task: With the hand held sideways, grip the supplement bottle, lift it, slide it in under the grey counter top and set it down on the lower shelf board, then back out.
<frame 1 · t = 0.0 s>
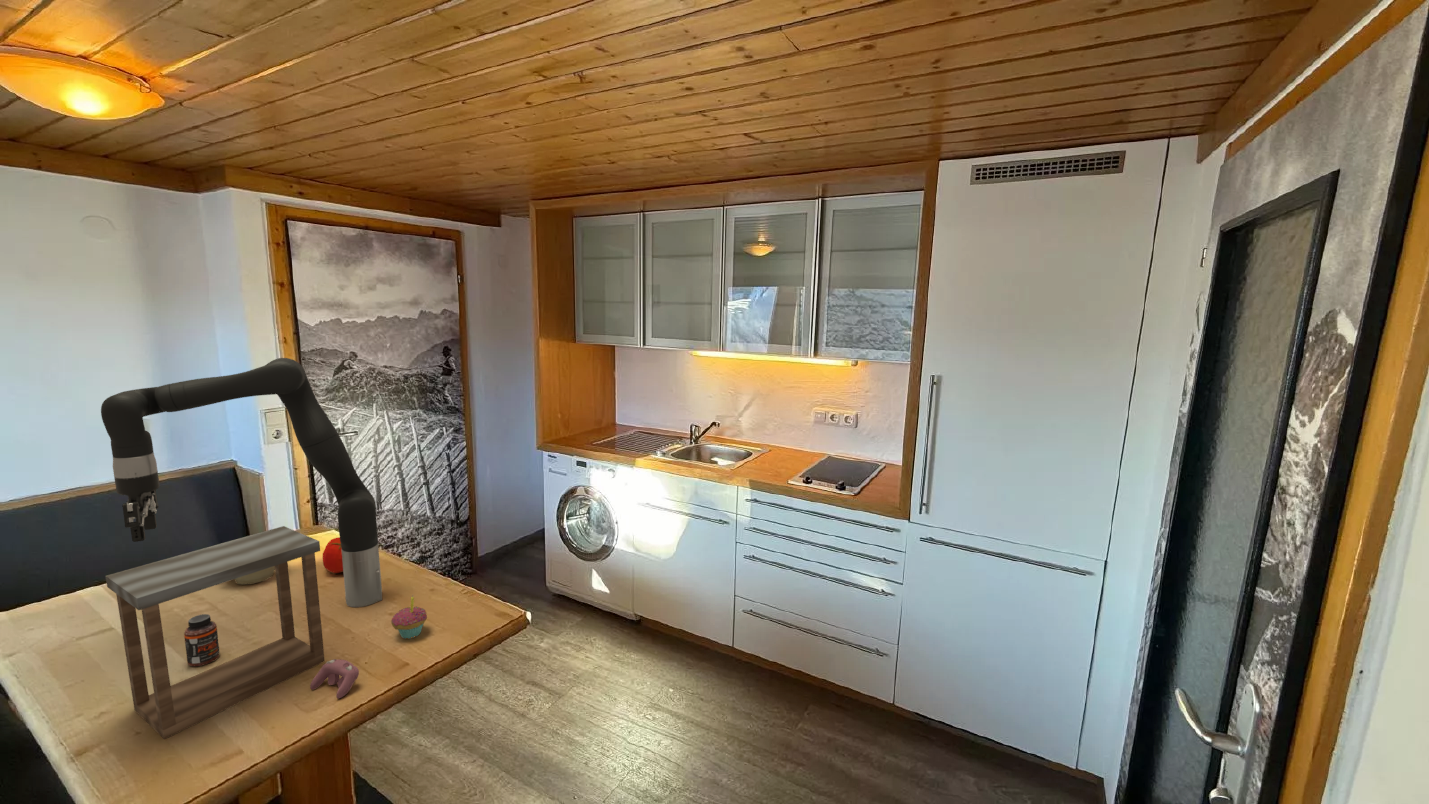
hand: (145, 534, 141), 29 cm above the table, tool pointing down, fingers open, 8 cm apart
video game controller: (336, 688, 131), on the table
planter bowl: (255, 578, 180), on the table
under-counter shelf: (236, 684, 131), on the table
supplement bottle: (204, 661, 139), on the table
tomato: (347, 569, 188), on the table
cupcake: (410, 634, 153), on the table
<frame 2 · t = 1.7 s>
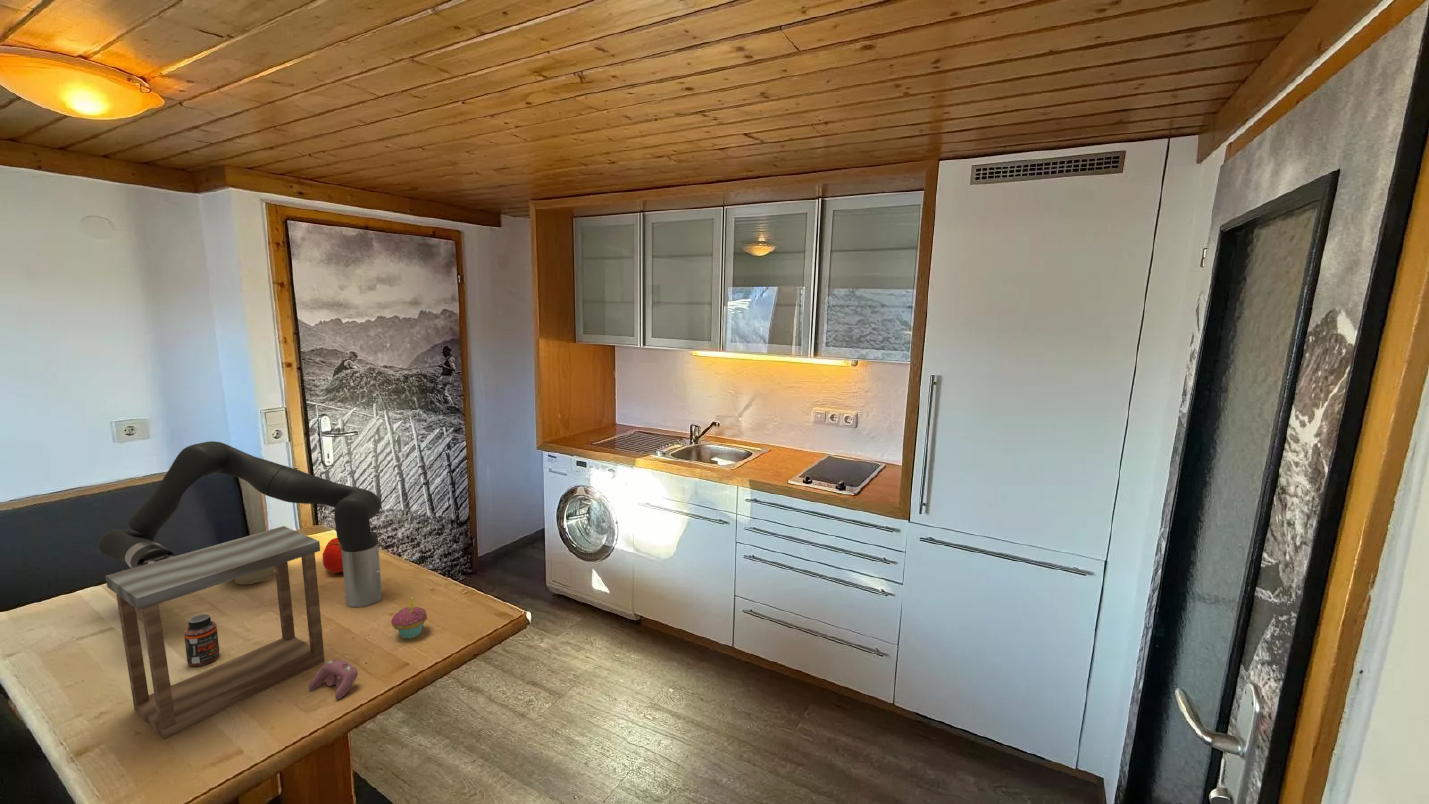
hand: (175, 574, 141), 20 cm above the table, tool horizontal, fingers open, 8 cm apart
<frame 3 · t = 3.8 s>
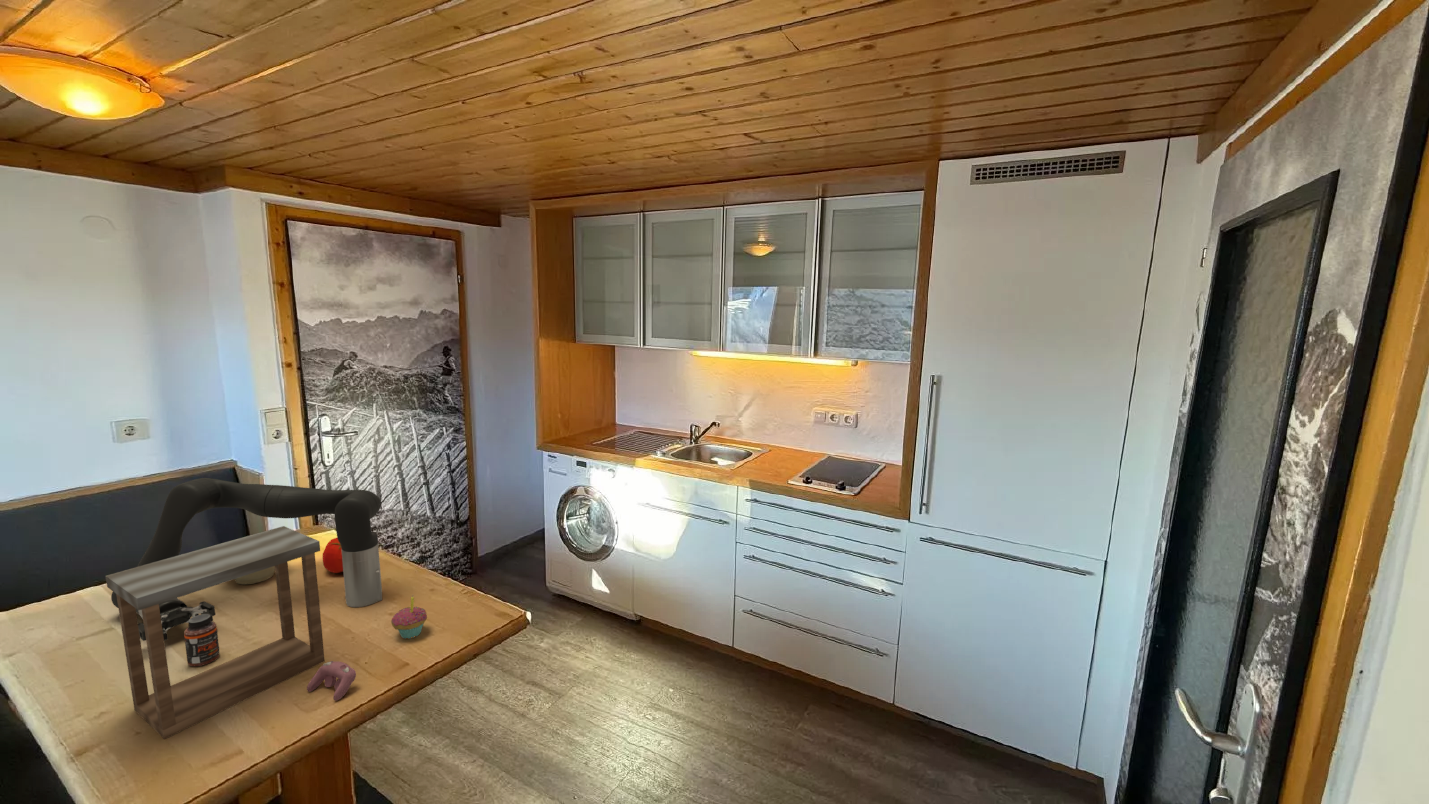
hand: (188, 628, 142), 6 cm above the table, tool horizontal, fingers open, 8 cm apart
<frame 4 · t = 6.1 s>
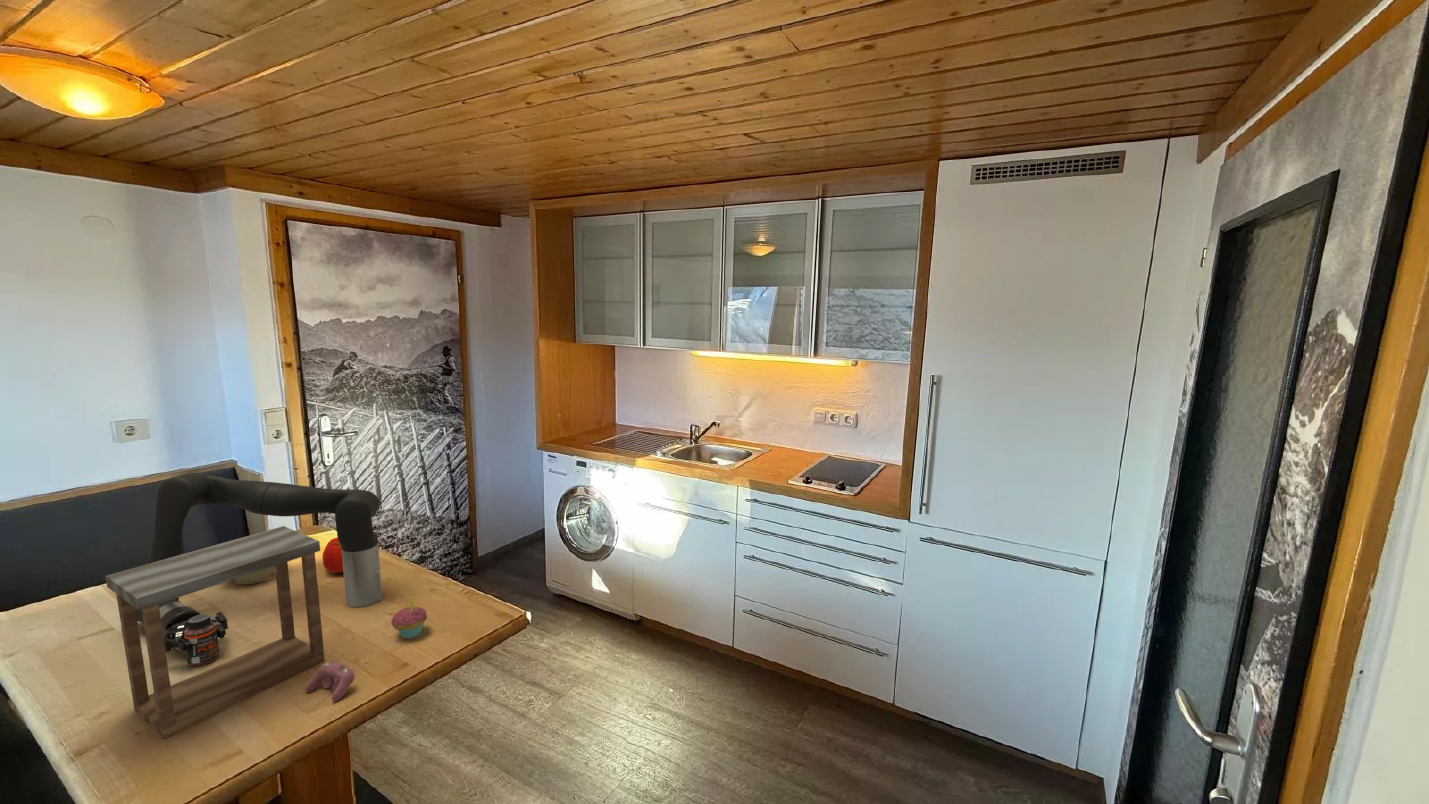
hand: (205, 640, 137), 6 cm above the table, tool horizontal, fingers closed on supplement bottle, 6 cm apart
supplement bottle: (204, 661, 139), on the table, touching gripper
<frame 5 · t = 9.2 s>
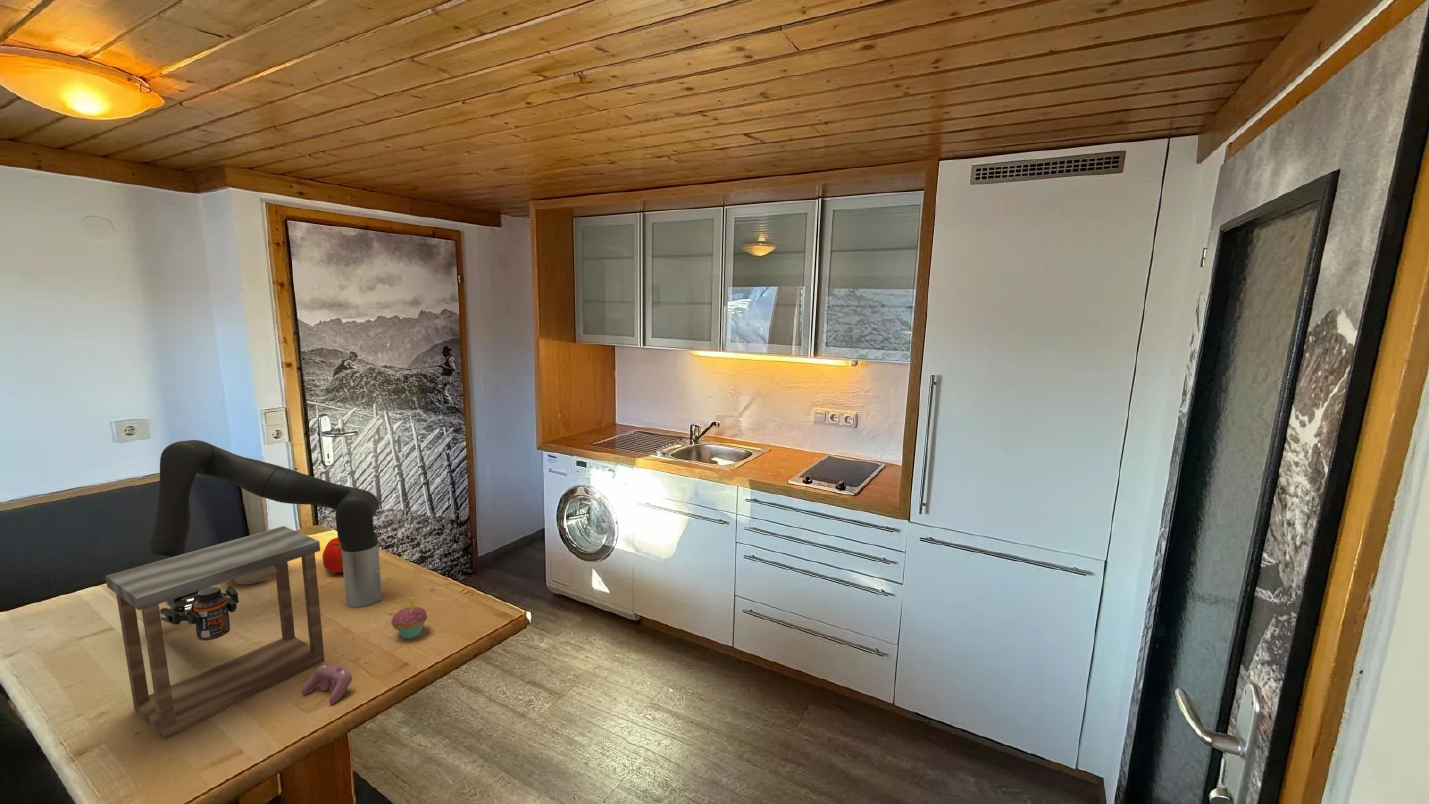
hand: (216, 614, 131), 16 cm above the table, tool horizontal, fingers closed on supplement bottle, 6 cm apart
supplement bottle: (214, 635, 134), point 9 cm above the table, touching gripper
when the fingers open (9 cm above the table, at t = 12.8 s): supplement bottle stays where it is, resting on under-counter shelf.
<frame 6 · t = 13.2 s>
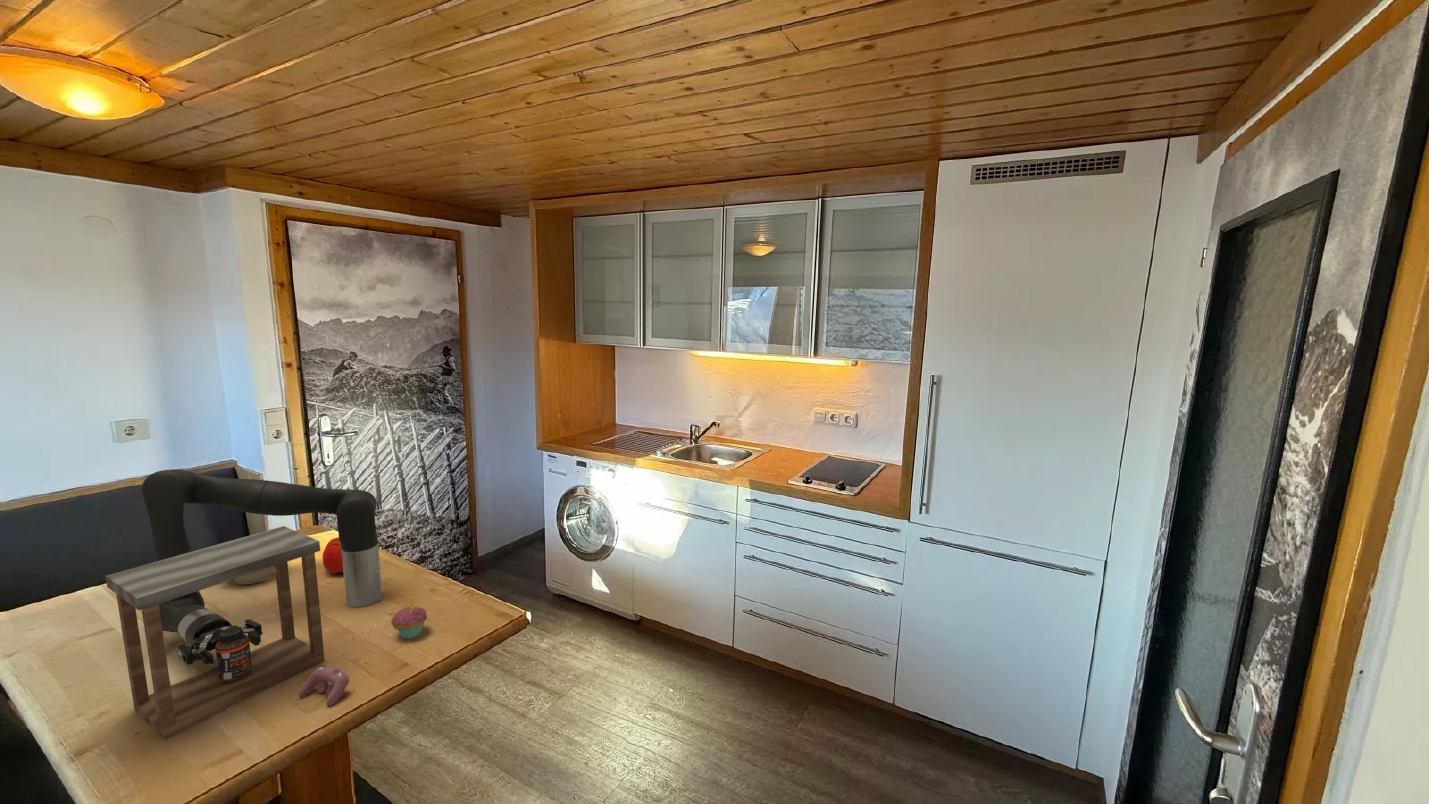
hand: (235, 650, 129), 9 cm above the table, tool horizontal, fingers open, 8 cm apart
supplement bottle: (236, 676, 131), point 2 cm above the table, touching under-counter shelf
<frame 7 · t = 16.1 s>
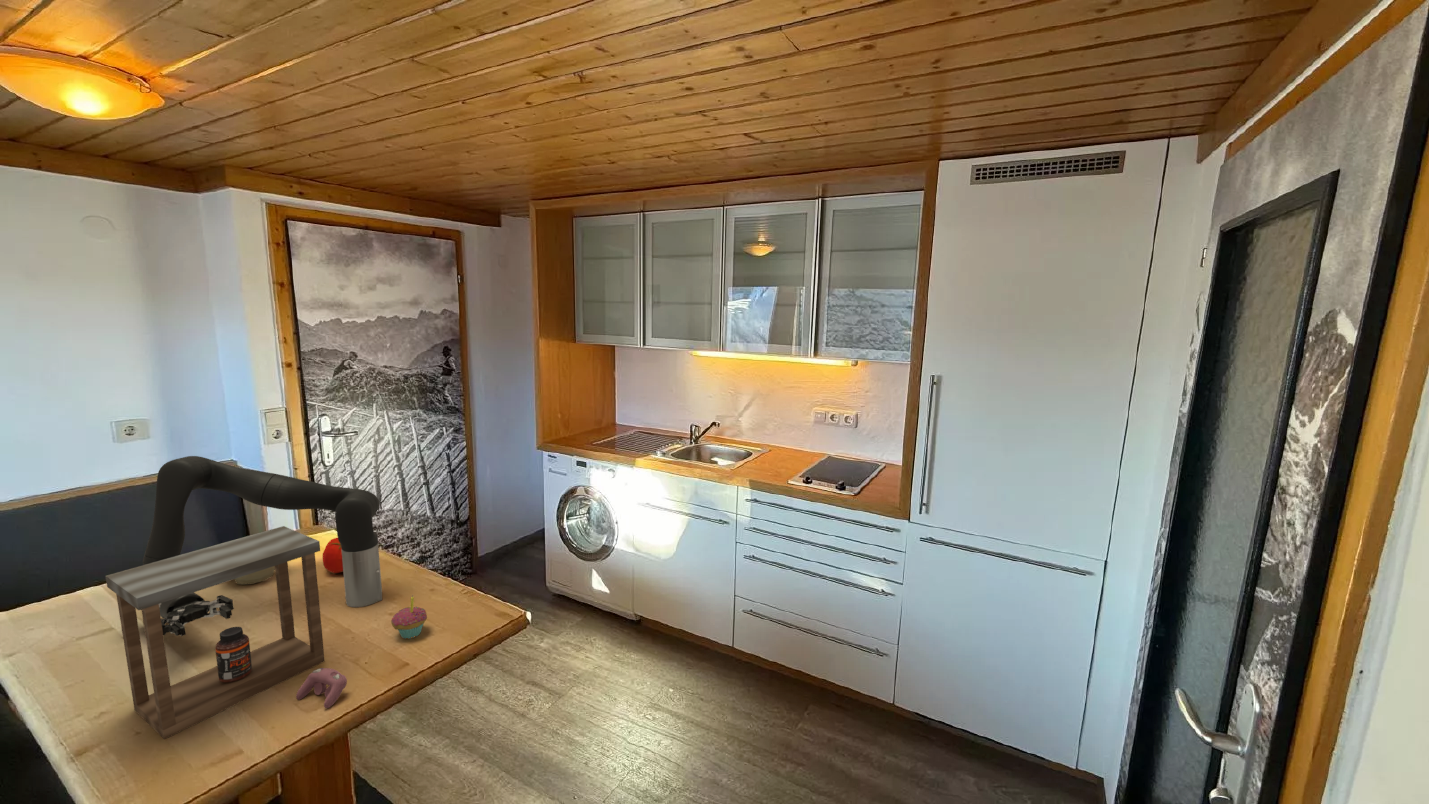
hand: (206, 623, 135), 11 cm above the table, tool horizontal, fingers open, 8 cm apart
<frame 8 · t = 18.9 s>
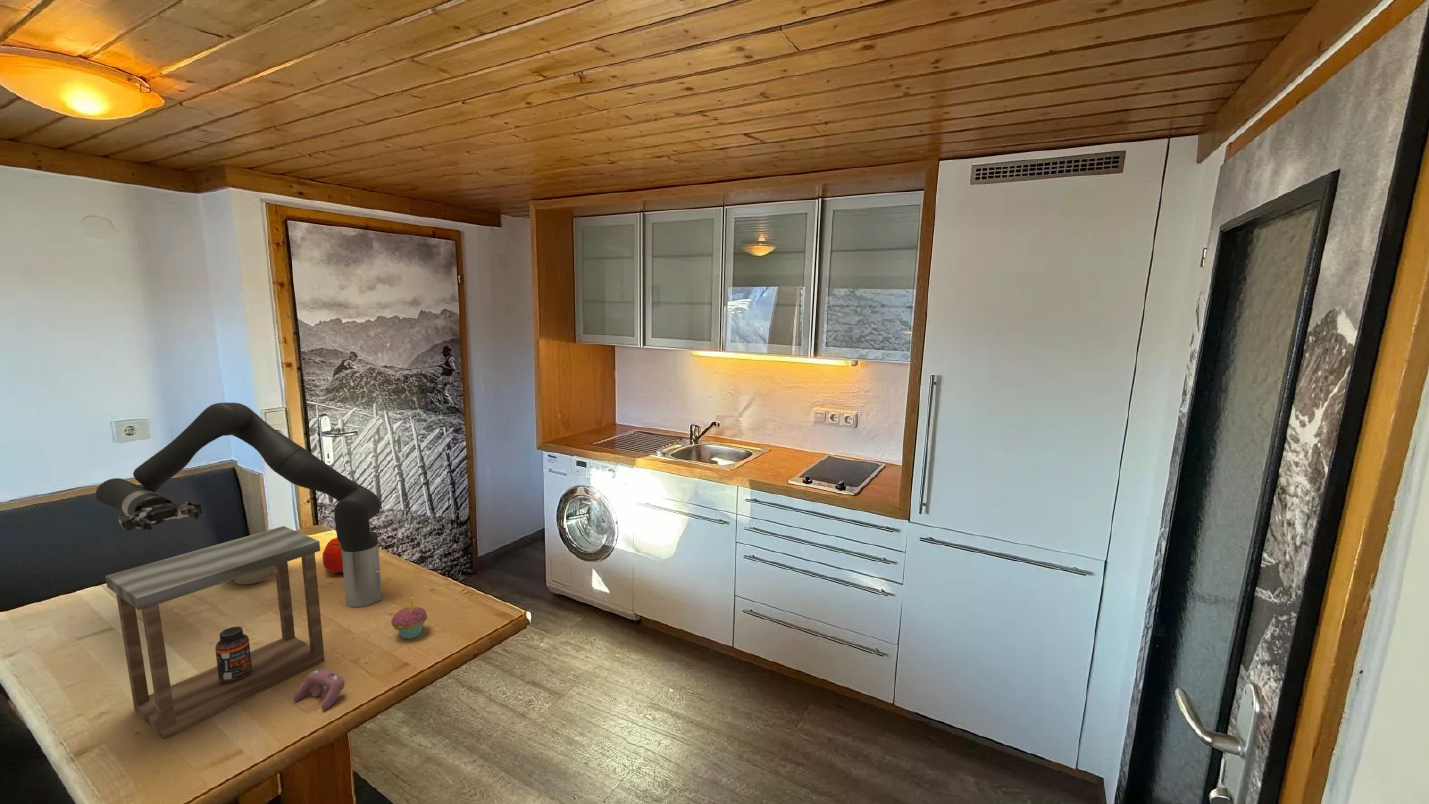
hand: (173, 520, 136), 35 cm above the table, tool horizontal, fingers open, 8 cm apart
at the end: supplement bottle inside the target area on the under-counter shelf (0.2 cm from its centre), point 1.8 cm above the under-counter shelf's base; supplement bottle tilted 0°; the gripper is holding nothing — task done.
